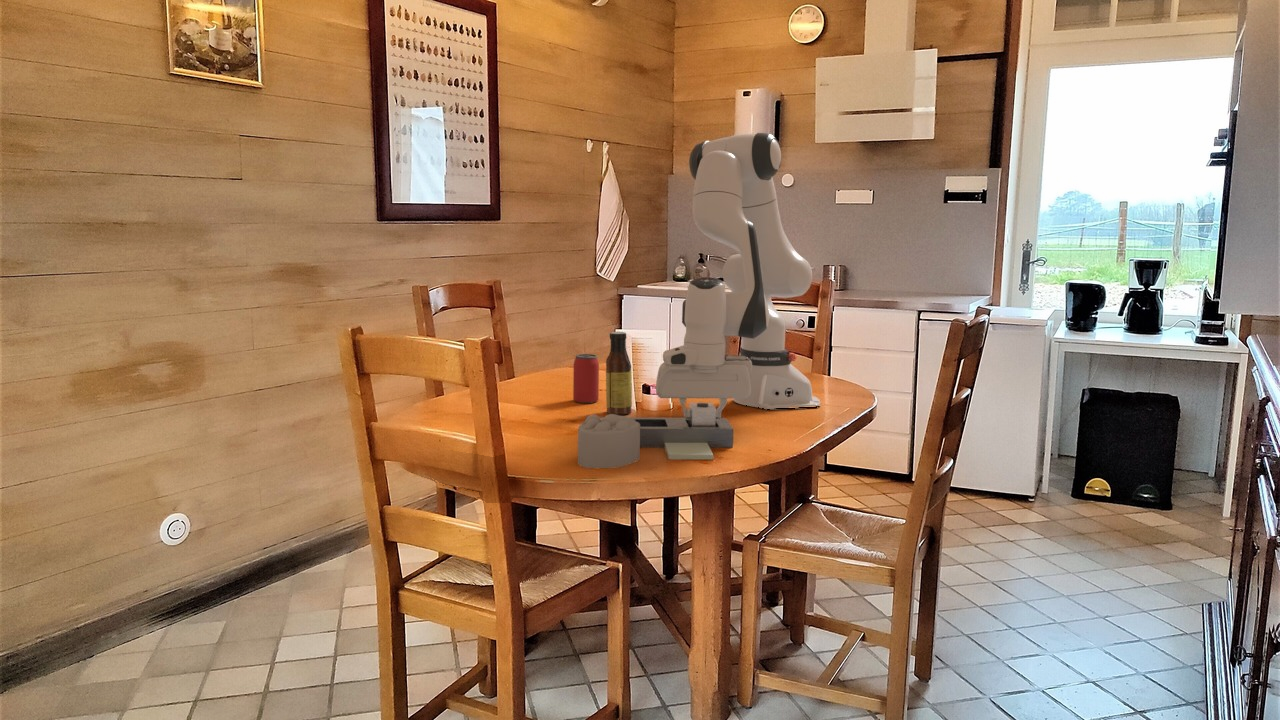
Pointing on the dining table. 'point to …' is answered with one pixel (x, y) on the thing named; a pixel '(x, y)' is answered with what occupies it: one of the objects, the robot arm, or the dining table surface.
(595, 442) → the lumpy-topped squat cylinder
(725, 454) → the dining table surface
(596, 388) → the beer can
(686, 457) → the pad
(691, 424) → the grey square post
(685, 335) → the robot arm
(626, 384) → the sauce bottle
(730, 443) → the rail
